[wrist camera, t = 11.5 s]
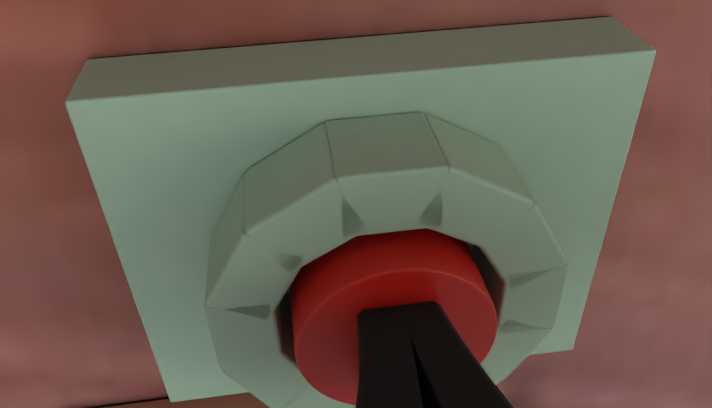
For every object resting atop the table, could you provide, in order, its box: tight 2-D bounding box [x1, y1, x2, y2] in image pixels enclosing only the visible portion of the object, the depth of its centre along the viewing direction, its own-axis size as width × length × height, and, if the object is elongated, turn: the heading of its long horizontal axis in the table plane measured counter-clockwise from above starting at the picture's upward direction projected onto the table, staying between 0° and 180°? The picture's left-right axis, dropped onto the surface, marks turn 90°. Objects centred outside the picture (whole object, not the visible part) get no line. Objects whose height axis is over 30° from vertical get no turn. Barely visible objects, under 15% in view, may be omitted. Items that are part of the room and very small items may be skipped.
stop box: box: [65, 17, 656, 408], centre depth 13 cm, size 10×8×4 cm
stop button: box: [290, 228, 498, 405], centre depth 11 cm, size 4×4×2 cm
